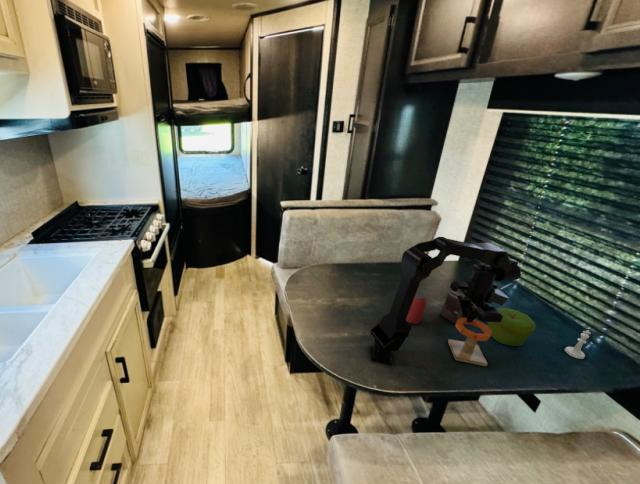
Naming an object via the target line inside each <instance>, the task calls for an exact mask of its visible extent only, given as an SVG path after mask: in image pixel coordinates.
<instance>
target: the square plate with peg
mask: <svg viewBox="0 0 640 484" xmlns="http://www.w3.org/2000/svg"><path fill="white" fill-rule="evenodd" d="M478 341H479V340H475V339H474V340H473V339H471V338H469V337H467V336H466V338H465V340H464V341H462V340H456V339H451V338H449V339H448V340H447V342H448V345H449V348H450V350H451V353H452V356H453V358H454V361H458V362H464V363H467V364H473V365H476V366H477V365H478V366H483V367H487V366H488V362H487V360H486V358H485V356H484V354H483V352H482V350H481V348H480V345H479V344H478Z"/></svg>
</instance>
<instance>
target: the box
mask: <svg viewBox="0 0 640 484" xmlns="http://www.w3.org/2000/svg"><path fill="white" fill-rule="evenodd" d="M460 291H461V289H458V291H456V292H454V291H453V290H452V289H450V290H449V291H448V292H447V295H446V298H445V301H444V305H443V306H442V311H441V313H440V315H441V316H442V317H443V318H445V319H447V320H448V321H450V322H451V323H452V324H454V325H456V322H457V321H458V319H459V318H461V317H463V314H462V310H461V307H460V303H459V300H458V298H457V296H460V294H461V293H460Z"/></svg>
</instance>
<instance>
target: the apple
mask: <svg viewBox="0 0 640 484" xmlns="http://www.w3.org/2000/svg"><path fill="white" fill-rule="evenodd" d="M496 309H497V310H498V311H499V312H500V313H501V314H502V316H503V318H502V321H501V322H487V326H488V327H489V328H490V329H491V330H492V334H491V336H490V337H492V338H493V339H494V340H495V341H496V342H498V343H500V344H503V345H505V346H510V347H511V346H512V347H520V346H523V345H524V343H525V342H526V341H527V339H528V338H529V337H530V336H531V335H532V334H533V332H534V331H535V330H536V328H537V327H536V322H534V320H533V319H532V318H531V317H530V316H529V315H527V314H526V313H524V312H521V311H519V310H516V309H512V308H508V307H498V308H496Z"/></svg>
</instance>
